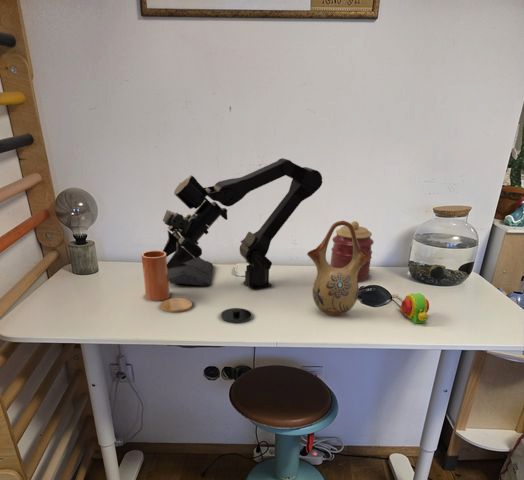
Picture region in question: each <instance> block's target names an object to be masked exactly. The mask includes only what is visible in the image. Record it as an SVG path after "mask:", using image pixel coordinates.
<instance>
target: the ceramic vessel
mask: <svg viewBox="0 0 524 480" xmlns="http://www.w3.org/2000/svg"><path fill="white" fill-rule="evenodd" d="M342 226H347V227H348V228H349V230H350V233H351V237H352V242H353V257H352V260H351V262H350V263H349V264H348V265H347V266H345V267H343V268H334V267H332V266H330V263H329V262H328V261H327V250H328V245H329V242H330V240H331V239H332V235H333V234H334V231H335V230H336V228H337V227H342ZM306 255H307V256H308V257H309V258H310V260H312V262H313V263H314V265H315V267H316V272H317V273H316V277H315V279H314V281H313V285H312V300H313V302H314V304H315V306H316V307H317V309H318V310H319V311H320V312H321V313H323V314H324V315H326V316H333V317H339V316H340V317H341V316H342V315H343V316H344V315H345V314H346V313H348V312H349V311H351V309H352V308H353V307H354V306H355V305H356V303H357V300H358V298H359V293H360V286H359V281H357V275H358V272H359V270H360V268H361V267H362V266H363V265H364V264H365V263H366V262H367V261H368V260H370V259H372V255H371V256H370V255H369V254H368V253H366V252H364V251H363V250H362V249H361V247H360V245H359V243H358V241H357V238H356V234H355V231H354V228H353V226H352V225H351V223H350V222H349V221H345V220H339V221H335V222H334V223H333V224H332V225H331V226H330V228H329V230H328V231H327V233H326V235H325V236H324V238H323V240H322V241H321V243H320V244H319V245H318V246H316V247H315V248H314V249H311V250H309V251H308V252H307V253H306Z"/></svg>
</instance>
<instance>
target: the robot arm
mask: <svg viewBox="0 0 524 480" xmlns="http://www.w3.org/2000/svg"><path fill="white" fill-rule="evenodd" d="M285 176H287V177H288V178H290V179H291V182H290V186H289V189H288V192H287V193H286V194H285V196H284V197H283V198H282V200H281V201H280V202H279V203H278V204H277V206H276V207H275V208H274V210H273V211H272V213H271V214H270V215H269V216H268V218H267V219H266V220H265V222H264V223H263V224H262V226H261V227H260V228H259V229H258V230H257V231H256V232H254V233H253V232H251V231H248V232H247V233H246V235H245V237H244V238H243V239H241V240H240V243H241V244H240V245H239V254H240V256H241V257H242V258H243V259H244V260H245V263H247V264H248V265H246V270H245V271H244V281H243V284H244V285H246V286H247V287H249V288H251V289H252V290H259V289H263V288H270V287H272V284H271V283H270V269H271V267H272V265H273V262H272V261H271V260H270V259H269V258H268V257H267V254H268V252H269V249H270V246H271V242H272V240H273V239H274V237H276V235H277V234H278V233H279V232H280V230H281V228H283V226H284V225H285V223H286V222H287V221H288V219H290V217H291V216H292V214H294V212H296V211H295V210H297V208H298V207H299V206H300V204H301V203H302V202H303V201H305V200H307V199H308V198H310V197H311V196H313V195H314V194H315V193H316V192H317V191H318V190H319V189H320V188H321V186H322V185H323V176H322V173H321V172H320V171H318V170H316V169H313V168H310V167H306V166H300V165H298V164H296V163H295V162H293V161H291V160H290V159H287V158H283V157H282V158H279V159H277V160H275V161H274V162H272V163H270V164H267V165H265V166H263V167H261V168H259V169H257V170H254V171H251V172H249V173H248V174H246V175H245V174H244V175H243V176H240V177H235V178H234V177H233V178H228V179H224V180H219V181H217V182H216V183H214V185H212V186H205V187H204V186H202V184H201V183H199V181H198V180H197V178H195V176H193V175H192V174H190V175H189V176H188V177H187V178H186V179H184V180H183V181H182V182H180V183H178V185H177V186H176V188H175V189H174V192H173V195H174V196H176V197H177V198H178V199H179V201H180V202H181V203H183V204H184V205H185V206H186V207H187V208H188V209H189V210H193V209H195V211H194V213H192V214H190V213H189V214H187V215H186V216H184V215H183V214H180V213H178V212H176V213H175V211H171V210H168V209H167V210H166V211H165V213H164V215H163V219H162V221H163V223H164V225H166V226H167V235H168V236H167V237H168V239H167V240H166V243H165V245H164V247H163V248H162V251H163V252H165V253H166V256H167V257H169V256H170V255H172V256H171V258H170V259H169V261H167V263H168V264H167V265H166V267H167V268H169V269H170V268H172V267H175V266H177V265H179V264H182V263H184V262H187V261H190V260H192V259H193V260H194V259H195V258H196V259H198V258H199V257H200V258H201V256H202V255H203V249H202V248H201V246H200V245H199V244H200V243H199V242H198V241H199V240H200V239H201V238H202V237H203V236H204V235H208V234H209V231H208V230H209V229H210V227H211V226H212V225H213V224H215V222H216V221H217V220H218V219H219V218H220V217H221V218H223V220H225V221H227V220H228V209H227V208H225V207H233V206H234V205H235V204H237V203H238V202H240V201H241V200H243V199H244V198H245V196H246V195H248V194H249V193H250V192H252V191H254V190H256V189H259V188H261V187H263V186H265V185H268V184H270V183H272V182H274V181H276V180H279V179H280V178H282V177H285ZM207 197H208V198H209V199H210V200H212V202H211V201H210V200H209V199H207ZM217 202H218V203H219V204H221V205H222V206H224V207H221V206H220V205H219V204H218V203H217ZM193 256H194V257H195V258H194V257H193Z"/></svg>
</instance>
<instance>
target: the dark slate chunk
mask: <svg viewBox="0 0 524 480" xmlns="http://www.w3.org/2000/svg"><path fill="white" fill-rule="evenodd" d="M193 257H194V256H193ZM194 258H195V257H194ZM167 264H168V262H167ZM167 269H168V282H169V284H177V285H191V286H200V287H201V286H203V287H205V286H209V285H211V282H212V279H213V278H212V277H213V270H214V265H213V263H212V262H210V261H208V260H205V259H203V258H201V256H200V257H199V258H198V259H196V258H195V259H194V260H193V259H192V260H190V261H187V262H184V263H182V264H179V265H177V266H175V267H172V268H170V269H169V268H167Z"/></svg>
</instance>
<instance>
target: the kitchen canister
mask: <svg viewBox="0 0 524 480" xmlns="http://www.w3.org/2000/svg"><path fill="white" fill-rule="evenodd" d="M350 224H351V225H352V226H353V228H354V231H355V234H356V238H357V241H358V243H359V245H360V247H361V249H362V250H363V251H364V252H366V253H368V254H369V255H370V256H371V257H372V254H373V250H372V245H374V243H375V242H374V240H373V238H371V237H372V236H373V233H372V232H371V231H369V229H368V228H367V227H365V226H364V227H363V226H360V223H359V221H355V220H354V221H352V222H351V223H350ZM335 234H336V235H334V236H333V237H332V238H331V239H332V242H333V246H332V247H331V256H330V263H329V265H330V266H332V267H334V268H343V267H345V266H347V265H348V264H349V263H350V262H351V260H352V257H353V242H352V237H351V233H350V230H349V228H348V227H347V226H344V225H342V226H340V228H338V229H335ZM371 259H372V258H371ZM371 259H370V260H368V261H367V262H366V263H365V264H364V265H363V266H362V267H361V268H360V270H359V272H358V275H357V281H358V282H363V281H365V280H367V279H368V278H369V275H370V272H371V270H370V269H371V268H370V267H371V261H372V260H371Z"/></svg>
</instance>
